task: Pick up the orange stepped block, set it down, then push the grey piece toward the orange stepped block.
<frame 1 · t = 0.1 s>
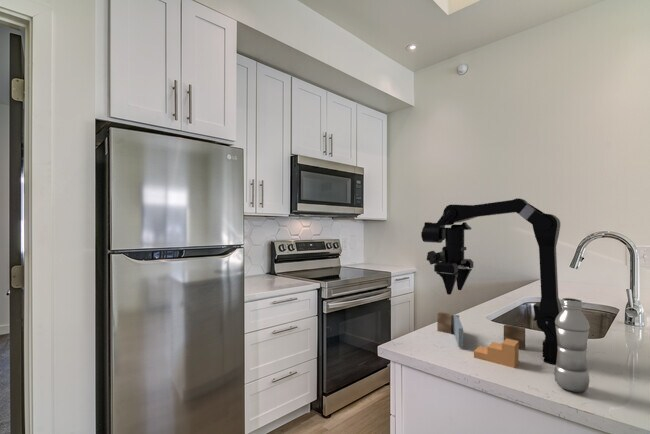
hand: (454, 292, 111), 15 cm above the worktop, fingers open, 9 cm apart
orange stepped block: (495, 360, 93), on the worktop
grey piece: (458, 330, 108), point 3 cm above the worktop, hinge at 65.0°
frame: (477, 338, 110), on the worktop
silver bottle: (571, 389, 78), on the worktop
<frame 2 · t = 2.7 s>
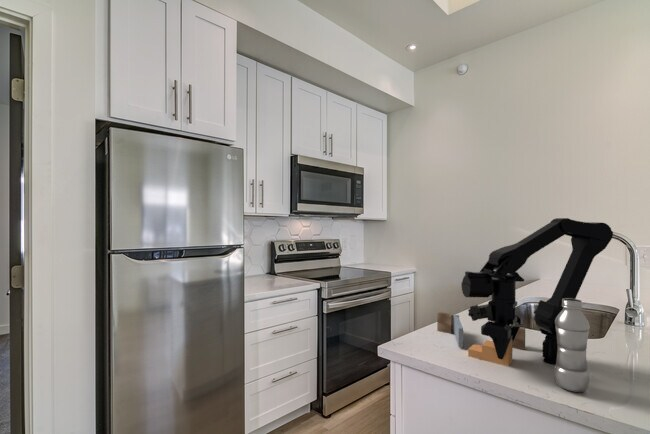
hand: (503, 355, 92), 2 cm above the worktop, fingers closed on orange stepped block, 5 cm apart
orange stepped block: (490, 358, 94), on the worktop, touching gripper
everything else where it was.
when the fingers open (3 cm above the worktop, at t = 7.1 s): orange stepped block drops 2 cm, on the worktop.
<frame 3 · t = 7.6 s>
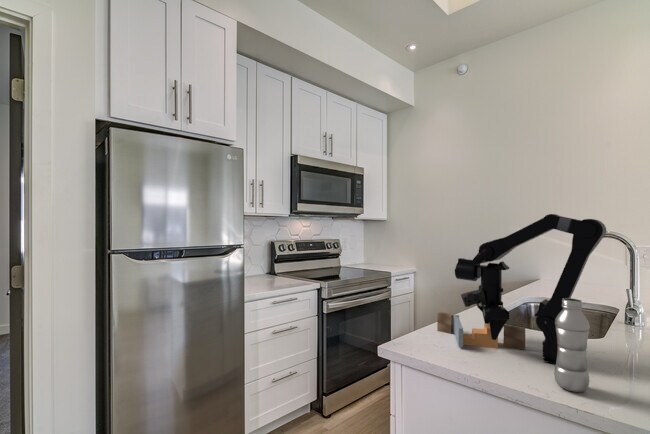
hand: (490, 334, 105), 3 cm above the worktop, fingers open, 9 cm apart
orange stepped block: (478, 344, 106), on the worktop
everything else where it was.
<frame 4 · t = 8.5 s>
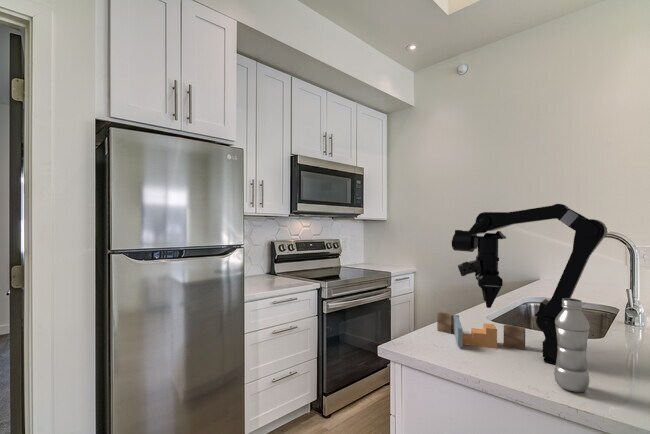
hand: (487, 304, 105), 12 cm above the worktop, fingers open, 9 cm apart
grey piece: (457, 330, 108), point 3 cm above the worktop, hinge at 65.7°
everything else where it was.
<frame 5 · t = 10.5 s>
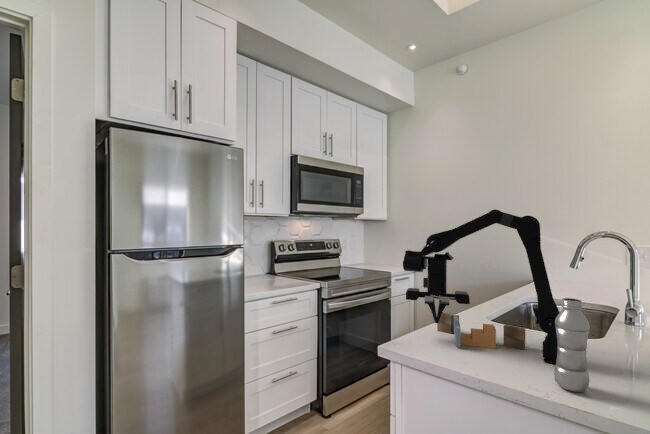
hand: (436, 323, 108), 5 cm above the worktop, fingers closed
grey piece: (457, 330, 108), point 3 cm above the worktop, hinge at 67.8°
everything else where it was.
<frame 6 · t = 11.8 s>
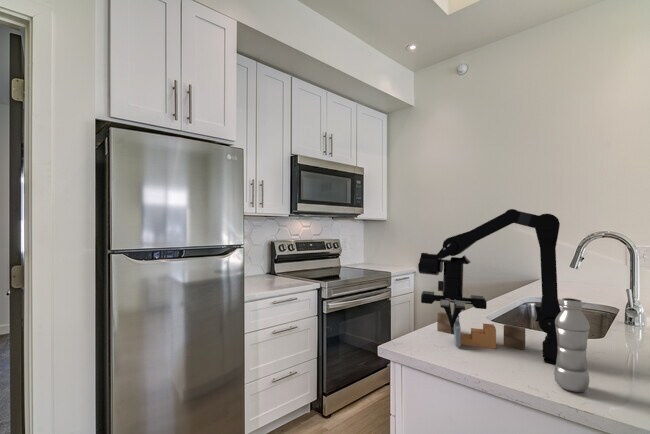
hand: (451, 327, 107), 4 cm above the worktop, fingers closed
grey piece: (457, 330, 108), point 3 cm above the worktop, hinge at 67.8°, touching gripper
everything else where it was.
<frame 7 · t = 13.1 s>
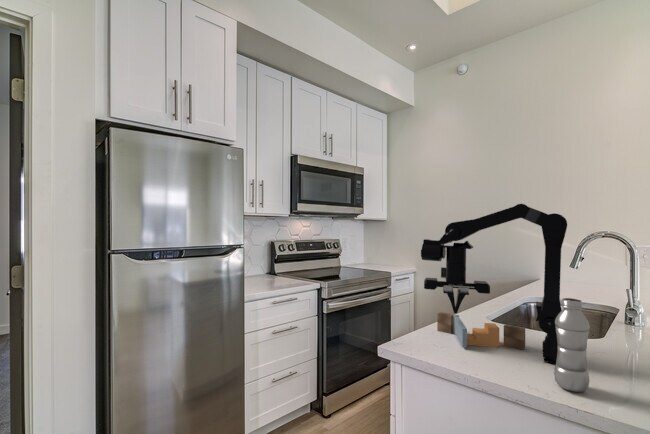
hand: (455, 313, 106), 9 cm above the worktop, fingers closed
orange stepped block: (479, 343, 106), on the worktop
grey piece: (459, 330, 108), point 3 cm above the worktop, hinge at 60.6°
everything else where it was.
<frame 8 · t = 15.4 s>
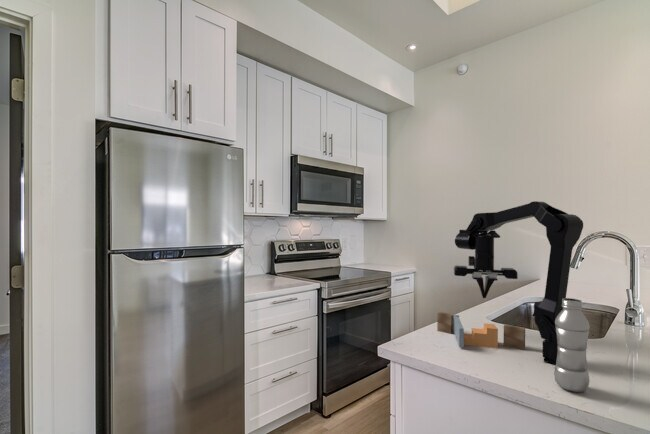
hand: (484, 297, 114), 12 cm above the worktop, fingers closed
grey piece: (458, 330, 108), point 3 cm above the worktop, hinge at 64.3°
everything else where it was.
at the end: orange stepped block 1.9 cm from the target spot on the worktop beside the grey piece, on the worktop; the gripper is holding nothing; grey piece at +64° (first picture: +65°) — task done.
